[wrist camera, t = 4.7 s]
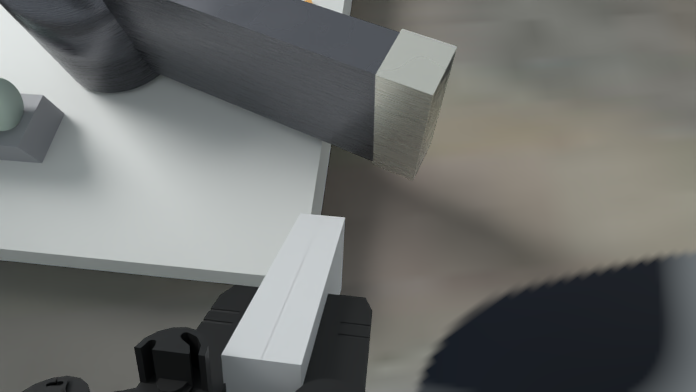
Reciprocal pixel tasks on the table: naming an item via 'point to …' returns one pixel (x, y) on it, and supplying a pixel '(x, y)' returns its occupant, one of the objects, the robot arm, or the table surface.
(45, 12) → the dark grey lever
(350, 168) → the table surface
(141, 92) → the instrument base
